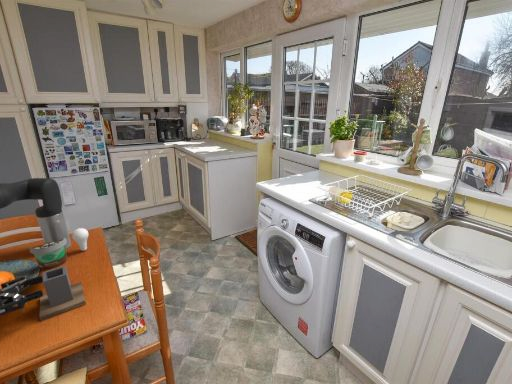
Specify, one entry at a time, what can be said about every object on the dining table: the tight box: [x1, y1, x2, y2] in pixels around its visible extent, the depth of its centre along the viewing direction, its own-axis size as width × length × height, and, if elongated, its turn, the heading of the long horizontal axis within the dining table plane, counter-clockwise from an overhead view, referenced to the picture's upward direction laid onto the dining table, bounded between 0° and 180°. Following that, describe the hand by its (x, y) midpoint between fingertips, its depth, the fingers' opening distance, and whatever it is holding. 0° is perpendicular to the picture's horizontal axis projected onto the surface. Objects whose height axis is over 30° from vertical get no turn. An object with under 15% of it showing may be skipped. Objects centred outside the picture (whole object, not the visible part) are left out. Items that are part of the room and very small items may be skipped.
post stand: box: [39, 281, 87, 322], centre depth 89 cm, size 12×12×8 cm
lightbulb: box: [71, 227, 89, 252], centre depth 118 cm, size 6×6×11 cm
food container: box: [29, 238, 68, 270], centre depth 108 cm, size 12×6×10 cm, turn 131°
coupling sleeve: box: [42, 265, 73, 307], centre depth 88 cm, size 6×6×10 cm
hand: (42, 285), depth 85 cm, fingers open, 8 cm apart
